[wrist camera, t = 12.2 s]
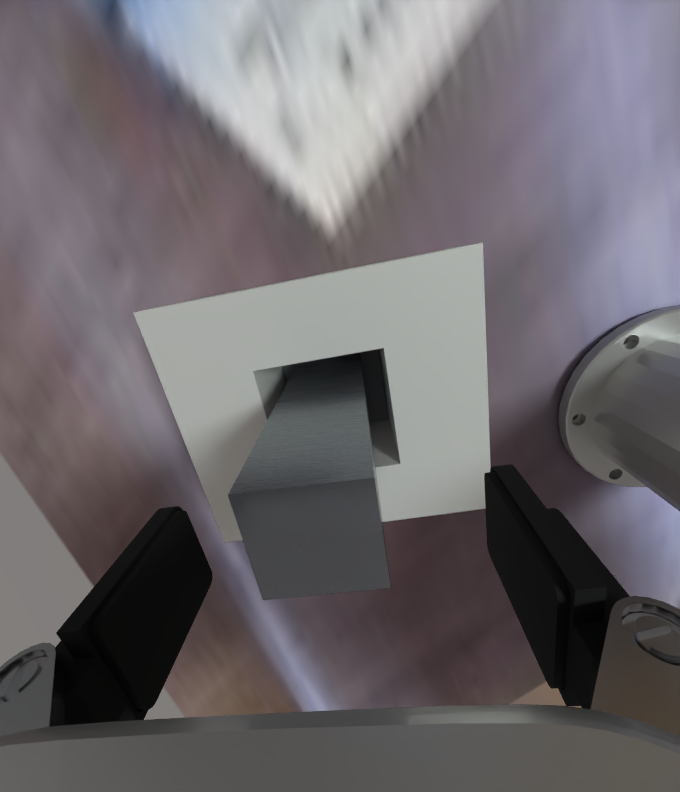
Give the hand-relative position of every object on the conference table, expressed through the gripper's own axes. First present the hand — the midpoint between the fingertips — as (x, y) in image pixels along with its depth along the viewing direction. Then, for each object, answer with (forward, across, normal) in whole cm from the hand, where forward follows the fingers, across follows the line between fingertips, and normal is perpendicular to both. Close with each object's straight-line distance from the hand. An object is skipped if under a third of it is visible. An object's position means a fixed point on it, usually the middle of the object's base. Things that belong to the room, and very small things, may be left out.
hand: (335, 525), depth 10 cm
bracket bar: (+13, +1, 0) cm, 13 cm away
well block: (+14, +1, 0) cm, 14 cm away
